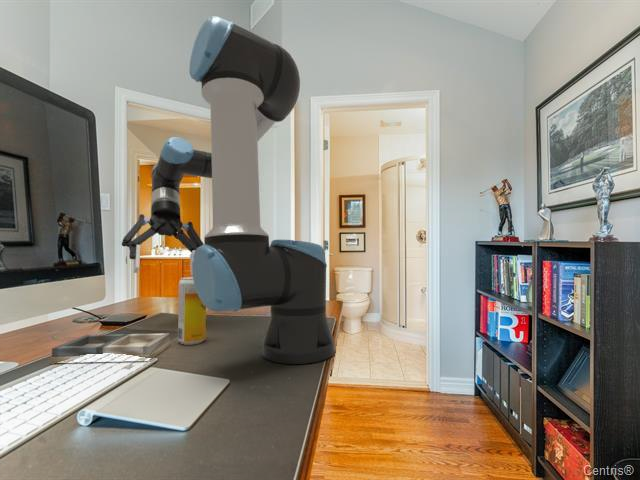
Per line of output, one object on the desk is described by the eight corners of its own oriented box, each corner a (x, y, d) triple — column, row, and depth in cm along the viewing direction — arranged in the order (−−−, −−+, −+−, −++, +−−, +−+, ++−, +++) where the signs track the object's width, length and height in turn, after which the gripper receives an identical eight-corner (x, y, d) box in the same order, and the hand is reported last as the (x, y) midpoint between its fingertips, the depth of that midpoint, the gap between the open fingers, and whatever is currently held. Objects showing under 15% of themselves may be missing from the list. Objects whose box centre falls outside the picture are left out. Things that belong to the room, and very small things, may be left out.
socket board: (170, 345, 73) (170, 332, 73) (148, 361, 62) (148, 347, 62) (87, 347, 72) (87, 334, 72) (49, 364, 61) (50, 349, 61)
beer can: (211, 340, 77) (211, 277, 77) (188, 347, 72) (189, 279, 72) (195, 337, 80) (195, 276, 81) (172, 343, 75) (173, 278, 76)
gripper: (205, 221, 103) (210, 281, 92) (113, 207, 88) (106, 276, 77) (213, 207, 98) (219, 268, 87) (117, 189, 83) (110, 260, 72)
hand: (166, 272), depth 82 cm, fingers open, 13 cm apart
